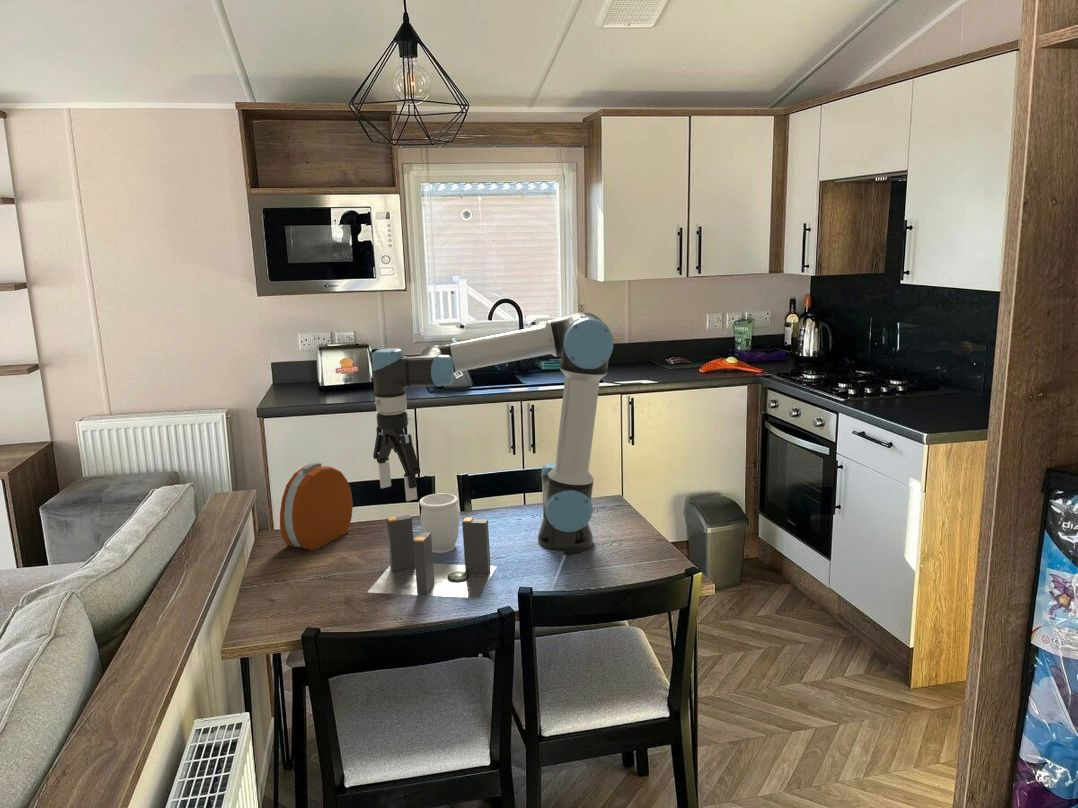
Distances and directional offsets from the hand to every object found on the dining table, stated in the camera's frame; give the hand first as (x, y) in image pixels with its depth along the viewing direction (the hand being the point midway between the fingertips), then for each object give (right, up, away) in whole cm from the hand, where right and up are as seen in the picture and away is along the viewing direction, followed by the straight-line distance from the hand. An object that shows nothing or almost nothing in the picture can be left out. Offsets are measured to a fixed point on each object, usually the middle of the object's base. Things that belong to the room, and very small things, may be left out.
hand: (398, 493), depth 206 cm
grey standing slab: (+8, -22, -8) cm, 25 cm away
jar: (+9, -18, +18) cm, 27 cm away
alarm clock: (-29, -17, +30) cm, 44 cm away
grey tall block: (0, -20, +5) cm, 20 cm away
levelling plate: (+9, -22, -2) cm, 24 cm away
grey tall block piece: (+20, -20, +1) cm, 28 cm away
